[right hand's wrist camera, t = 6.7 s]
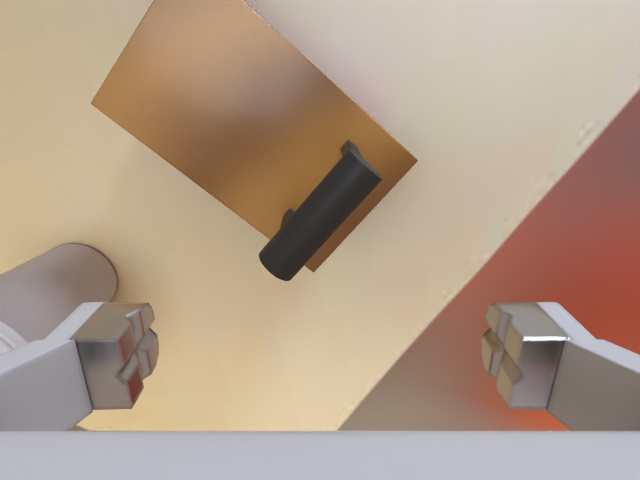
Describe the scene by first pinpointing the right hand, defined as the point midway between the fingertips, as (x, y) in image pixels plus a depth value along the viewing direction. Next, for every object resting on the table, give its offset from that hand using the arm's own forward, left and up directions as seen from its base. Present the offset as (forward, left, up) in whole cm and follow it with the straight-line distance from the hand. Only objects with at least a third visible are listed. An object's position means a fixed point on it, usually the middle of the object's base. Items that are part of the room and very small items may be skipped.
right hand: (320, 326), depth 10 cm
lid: (+3, -3, -16) cm, 17 cm away
